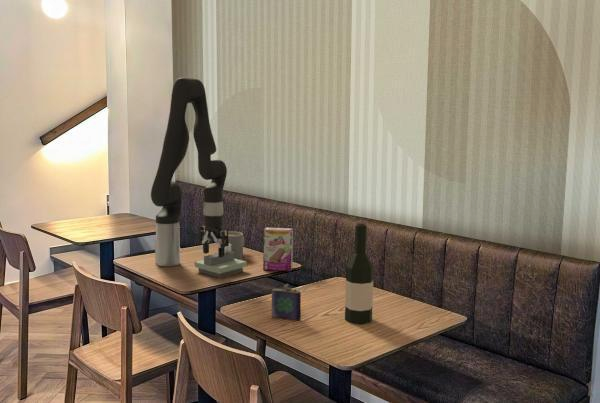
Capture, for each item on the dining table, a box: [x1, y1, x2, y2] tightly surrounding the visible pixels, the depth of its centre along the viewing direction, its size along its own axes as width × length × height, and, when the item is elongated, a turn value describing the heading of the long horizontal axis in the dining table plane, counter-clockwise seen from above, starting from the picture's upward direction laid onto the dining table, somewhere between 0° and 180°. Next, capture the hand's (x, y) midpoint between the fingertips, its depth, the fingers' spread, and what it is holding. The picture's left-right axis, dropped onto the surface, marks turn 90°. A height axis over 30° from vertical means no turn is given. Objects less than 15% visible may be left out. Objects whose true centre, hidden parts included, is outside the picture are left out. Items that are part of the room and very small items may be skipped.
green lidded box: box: [194, 259, 247, 279], centre depth 235 cm, size 14×14×4 cm
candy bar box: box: [262, 226, 294, 272], centre depth 239 cm, size 11×5×16 cm, turn 84°
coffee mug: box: [218, 230, 245, 260], centre depth 259 cm, size 13×10×10 cm
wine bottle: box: [344, 221, 375, 325], centre depth 183 cm, size 8×8×30 cm
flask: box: [271, 283, 302, 322], centre depth 185 cm, size 9×3×11 cm, turn 72°
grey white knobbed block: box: [203, 244, 234, 266], centre depth 234 cm, size 4×12×6 cm, turn 140°
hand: (213, 255), depth 232 cm, fingers open, 8 cm apart
